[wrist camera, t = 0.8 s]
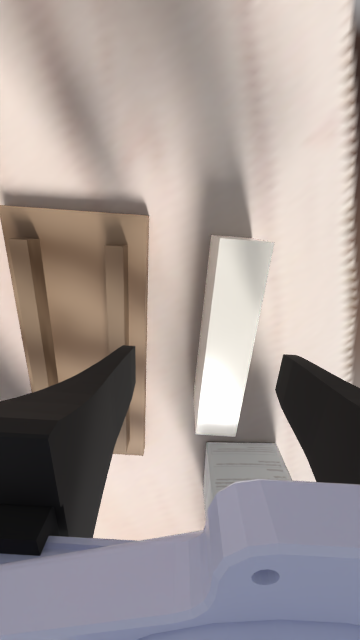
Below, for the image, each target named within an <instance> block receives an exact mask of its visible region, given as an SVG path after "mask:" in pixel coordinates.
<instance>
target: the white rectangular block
mask: <svg viewBox="0 0 360 640" xmlns="http://www.w3.org/2000/svg"><path fill="white" fill-rule="evenodd" d="M273 247H274V242H270V241H265V240H259V239H254V238H244V237H231V236H218V235H211V241H210V250H209V259H208V268H207V277H206V286H205V295H204V304H203V313H202V322H201V331H200V339H199V348H198V357H197V366H196V375H195V384H194V393H193V394H194V414H195V433H196V434H200V435H214V436H229V437H236V432H237V427H238V422H239V417H240V412H241V407H242V402H243V397H244V392H245V387H246V382H247V377H248V372H249V367H250V362H251V357H252V352H253V347H254V342H255V337H256V332H257V327H258V322H259V317H260V312H261V307H262V302H263V297H264V292H265V287H266V282H267V277H268V272H269V267H270V262H271V257H272V252H273Z"/></svg>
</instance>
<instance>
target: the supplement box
mask: <svg viewBox="0 0 360 640" xmlns="http://www.w3.org/2000/svg"><path fill="white" fill-rule="evenodd" d="M252 479H270V480H288V481H292V478H291V476H290V474H289V471H288V469H287V467H286V465H285V463H284V461H283V458H282V456H281V454H280V451H279V449H278V447H277V445H276V443H227V442H207V443H206V458H205V472H204V486H203V492H204V503H205V515H206V517H207V510H208V507H209V506H210V504H211V502H212V500H213V499H214V497H215V495H216V494H217V493H218V492H219V491H220V490H222V489H224V488H226V487H227V486H229V485H231V484H233V483H234V482H237V481H245V480H252Z"/></svg>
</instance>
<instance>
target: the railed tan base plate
mask: <svg viewBox="0 0 360 640" xmlns="http://www.w3.org/2000/svg"><path fill="white" fill-rule="evenodd" d="M0 218H1V224H2V229H3V235H4V241H5V246H6V252H7V257H8V263H9V268H10V274H11V279H12V285H13V290H14V296H15V301H16V307H17V313H18V318H19V324H20V329H21V335H22V340H23V346H24V351H25V357H26V362H27V368H28V373H29V379H30V385H31V390H32V393H33V392H36V391H39V390H42V389H44V388H47V387H49V386H52V385H55V384H57V383H60V382H62V381H64V380H66V379H69V378H71V377H73V376H75V375H77V374H79V373H80V372H82V371H84V370H86V369H87V368H89V367H91V366H92V365H94V364H96V363H97V362H99V361H100V360H102V359H103V358H105V357H106V356H108V355H109V354H111V353H112V352H113V351H115V350H116V349H118V348H119V347H121V346H123V345H127V346H135V358H136V383H135V388H134V392H133V397H132V400H131V403H130V406H129V409H128V411H127V414H126V417H125V419H124V422H123V425H122V427H121V430H120V433H119V435H118V438H117V441H116V444H115V447H114V451H113V454H125V455H141V456H143V454H144V448H145V402H146V348H147V293H148V239H149V216H147V215H134V214H120V213H105V212H91V211H77V210H62V209H48V208H34V207H19V206H5V205H0Z"/></svg>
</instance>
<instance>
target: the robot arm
mask: <svg viewBox="0 0 360 640" xmlns="http://www.w3.org/2000/svg"><path fill="white" fill-rule="evenodd" d="M135 383H136V358H135V346H127V345H123V346H121V347H119V348H118V349H116V350H115V351H113V352H112V353H111V354H109V355H108V356H106V357H105V358H103V359H102V360H100V361H99V362H97V363H96V364H94V365H92V366H91V367H89V368H87V369H86V370H84V371H82V372H80V373H79V374H77V375H75V376H73V377H71V378H69V379H66V380H64V381H62V382H60V383H57V384H55V385H52V386H49V387H47V388H44V389H42V390H39V391H36V392H33V393H30V394H27V395H23V396H20V397H16V398H13V399H9V400H5V401H1V402H0V640H360V388H358V387H356V386H354V385H352V384H350V383H348V382H346V381H344V380H342V379H341V378H339V377H337V376H335V375H333V374H331V373H329V372H328V371H326V370H324V369H322V368H320V367H319V366H317V365H315V364H313V363H311V362H310V361H308V360H306V359H304V358H302V357H299V356H297V355H284V354H283V359H282V363H281V367H280V372H279V376H278V380H277V385H276V389H275V390H276V393H277V397H278V400H279V402H280V405H281V408H282V410H283V412H284V414H285V416H286V418H287V420H288V422H289V424H290V426H291V428H292V429H293V431H294V433H295V435H296V437H297V439H298V441H299V443H300V445H301V447H302V449H303V451H304V453H305V455H306V457H307V459H308V461H309V464H310V467H311V469H312V472H313V474H314V477H315V479H316V482H305V481H288V480H270V479H252V480H245V481H237V482H234V483H233V484H231V485H229V486H227V487H226V488H224V489H222V490H220V491H219V492H218V493H217V494H216V495H215V497H214V499H213V500H212V502H211V504H210V506H209V507H208V510H207V517H206V524H205V528H204V530H201V531H195V532H189V533H183V534H177V535H171V536H165V537H159V538H153V539H147V540H141V541H133V540H116V539H98V538H93V534H94V529H95V525H96V520H97V516H98V512H99V507H100V503H101V499H102V494H103V490H104V486H105V482H106V478H107V474H108V470H109V466H110V462H111V458H112V454H113V451H114V447H115V444H116V441H117V438H118V435H119V433H120V430H121V427H122V425H123V422H124V419H125V417H126V414H127V411H128V409H129V406H130V403H131V400H132V397H133V392H134V388H135Z"/></svg>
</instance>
